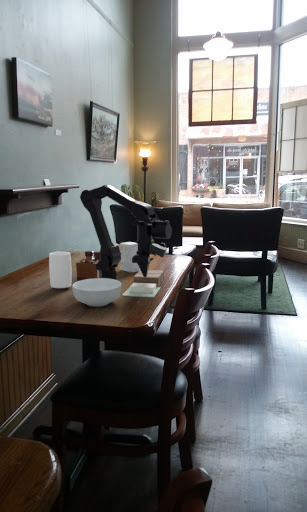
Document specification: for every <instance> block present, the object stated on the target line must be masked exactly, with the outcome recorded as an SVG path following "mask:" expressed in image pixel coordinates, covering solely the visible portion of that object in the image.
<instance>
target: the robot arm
mask: <svg viewBox="0 0 307 512" xmlns="http://www.w3.org/2000/svg"><path fill="white" fill-rule="evenodd" d="M80 193H81V194H80V195H79V198H80V201H81V203H82V205H83V207H84V208H85V209H86V210H87V211H88V213H89V215H90V219H91V221H92V224H93V227H94V231H95V233H96V236H97V239H98V242H99V245H100V248H99V249H100V250H99V259H100V260H99V261H98V262H97V263H96V264H95V268H96V270H97V271H98V278H108V279H114V280H118V272H117V271H116V269H117V267H118V266H119V264H120V263H121V255H122V254H121V252H120V246H119V245H118V244H117V245H115V244H114V243H113V242H112V238H111V235H110V232H109V229H108V226H107V223H106V219H105V217H104V214H103V212H102V206H103V200H102V199H105V198H107V197H108V198H109V199H111V200H112V201H113V202H115V203H118V204H119V205H121V206H122V207H124V208H125V209H127V210H128V211H129V212H130V213H131V215H132V216H133V217H134V218H136V219H135V221H133V223H132V224H131V225H132V226H136V227H137V240H136V242H135V243H138V251H136V254H135V255H134V256H133V257H132V263H137V264H138V266H139V268H140V270H141V272H142V274H143V277H147V273H148V270H149V269H150V264H151V262H153V260H154V259H155V258H154V257H156V256H159V257H160V258H164V257H165V256H166V253H167V251H168V248H167V247H166V243H165V242H161V243H160V244H158V243H155V240H154V239H162V240H163V239H164V240H169V239H171V237H172V234H173V233H172V232H173V229H172V226H171V224H170V220H160V218H159V217H158V215H157V214H156V212H155V208H154V207H153V205H151V204H149V203H145V202H144V201H140V200H137V199H134V198H133V197H131V196H129V195H127V194H125V193H124V192H122V191H120V190H119V189H117V188H115V187H114V186H113V185H111V184H104V185H102V186H99V187H96V188H92V189H91V188H90V189H84V190H82V192H80ZM153 238H154V239H153ZM151 255H152V256H154V257H151Z"/></svg>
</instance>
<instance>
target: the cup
mask: <svg viewBox="0 0 307 512" xmlns="http://www.w3.org/2000/svg"><path fill="white" fill-rule="evenodd" d="M48 257H49V258H48V268H49V270H48V271H49V272H48V273H49V282H50V287H51V288H54V289H65V288H69V287H72V280H73V279H72V278H73V277H72V276H73V275H72V274H73V273H72V271H73V270H72V257H71V252H69V251H62V250H61V251H60V250H59V251H52V252H49V254H48Z"/></svg>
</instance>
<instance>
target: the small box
mask: <svg viewBox="0 0 307 512" xmlns="http://www.w3.org/2000/svg"><path fill="white" fill-rule="evenodd" d="M119 245H120V246H119V249H120V252H121V254H122V255H121V260H120V270H121V271H124V272H127V273H135V272H137V273H138V272H139V271H140V268H139V266H138V264H137V263H132V257H133V256H134V255H135V254H136V251H138V243H136V242H132V241H126V242H120V243H119Z"/></svg>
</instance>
